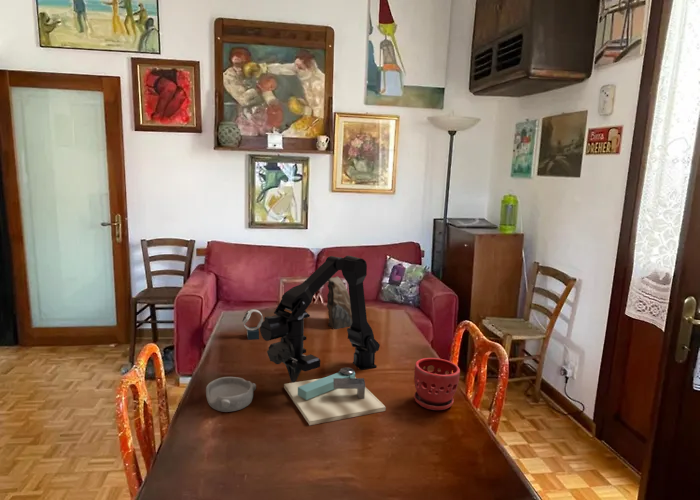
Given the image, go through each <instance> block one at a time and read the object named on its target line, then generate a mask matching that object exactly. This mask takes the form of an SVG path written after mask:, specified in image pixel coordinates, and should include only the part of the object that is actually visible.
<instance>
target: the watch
mask: <svg viewBox="0 0 700 500" xmlns="http://www.w3.org/2000/svg"><path fill="white" fill-rule="evenodd" d="M252 313H258V314H259V315H260V320H259V322H258V323H257V326H251V327H250V326H247V325H246V323H247V322H248V321H249V319H250V318H251V316H252ZM241 321H242V323H243V326H244V328H245V329H246V337H247V341H248V340H249V341H250V340H253V341H254V340H260V326H261V324H262V322H263V321H264V316H263V314H262V312H261V311H260V310H258V309H253V308H252V309H249V310H247V311H246V312H245V314H244V316H242V320H241Z"/></svg>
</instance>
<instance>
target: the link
mask: <svg viewBox="0 0 700 500" xmlns="http://www.w3.org/2000/svg"><path fill="white" fill-rule="evenodd" d="M355 377H356V372H355V371H354V373H353V374H352V375H343V374H341V373H340V370H339V371H338V372H336V373H333V374H330V375H328V376H326V377H325V376H324V377H322V379H320V378H318V379H319V380H316V381H314V382H311V383H308V384H305V385H303V386H300V387H298V396H300V397H302V398H304V399H305V400H308V399H310V398H313V397H315V396H318V395H320V394H323V393H326V392H328V391H331V390H333V389H334V386H333V378H355Z"/></svg>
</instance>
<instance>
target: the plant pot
mask: <svg viewBox="0 0 700 500" xmlns="http://www.w3.org/2000/svg"><path fill="white" fill-rule="evenodd" d="M430 366H432V367H433V370H432V371H429V369H428V368H429V367H430ZM424 367H425V368H424ZM439 369H440V371H439ZM447 372H448V374H447ZM413 373H414V375H413V376H414V377H413V378H414V380H413V381H414V387H415V392H414V394H413V397H414V400H415V402H416V403H417V405H420V407H422V408H425V409H427V410H430V411H431V410H432V411H443V410H448V409H449V408H450V407H452V406H453V404H454V398H453V397H454V396H455V394H456V392H457V389H458V386H459V382H460V381H459V380H460V375H461V369H460V367H459V366H458V365H457V364H456V363H454V362H451V361H450V360H447V359H442V358H437V357H424V358H420V359H418V360H417V361H415V365H414V372H413Z"/></svg>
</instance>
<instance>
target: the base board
mask: <svg viewBox="0 0 700 500" xmlns="http://www.w3.org/2000/svg"><path fill="white" fill-rule="evenodd" d="M322 378H323V377H322ZM322 378H321V377H320V378H315V379H308V380H303V381H302V380H301V381H296V382H294V383H293V382H289V383H287V382H286V383H284V384H283V388H284V390H285V391H286V392H287V394H288V395H289V397H290V399H291V401H292V402H293V404H294V405H295V406H296V408H297V409H298V410H299V412H300V413H301V415H302V417H303V418H304V419H305V421H306V423H308V426H314V425H319V424H325V423H329V422H334V421H340V420H345V419H350V418H354V417H360V416H366V415H370V414H377V413H381V412H386V410H387V409H386V408H387V407H386V405H384V404H383V402H382V401H380V400H379V399H378V398H377V397H376V396H375V395H374V394H373V393H372V392H371V391H370V390H369V389H368V388H367V387H366V386H365V398H364V399H358V397H357V389H333V390H331V391H328V392H326V393H323V394H320V395H318V396H315V397H313V398H310V399H308V400H305V399H304V398H302V397H300V396H298V387H300V386H303V385H305V384H308V383H311V382H314V381H316V380H319V379H322ZM355 378H357V377H356V376H355Z"/></svg>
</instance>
